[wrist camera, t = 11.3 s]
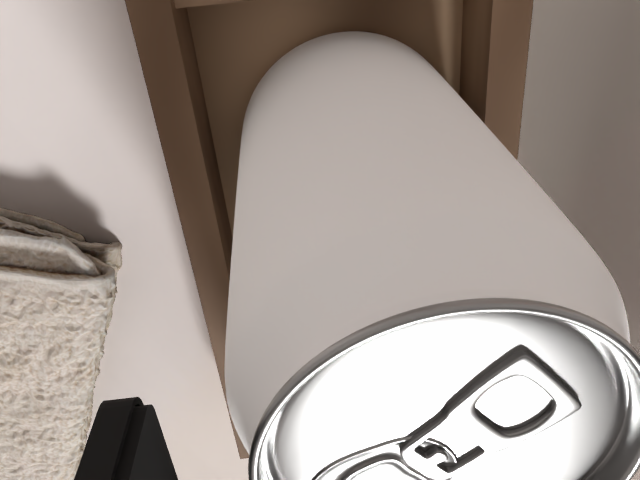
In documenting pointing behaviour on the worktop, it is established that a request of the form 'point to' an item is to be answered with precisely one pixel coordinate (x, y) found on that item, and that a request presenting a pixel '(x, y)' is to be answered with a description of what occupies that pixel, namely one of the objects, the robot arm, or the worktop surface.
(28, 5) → the worktop surface
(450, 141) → the can
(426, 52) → the wooden tray
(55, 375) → the washcloth
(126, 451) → the robot arm
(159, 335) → the worktop surface
